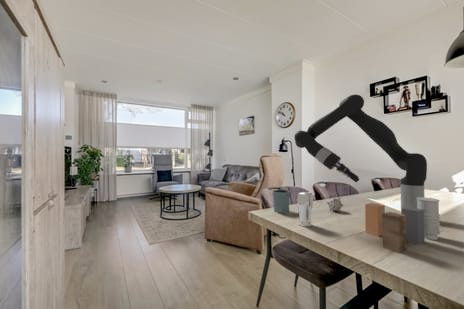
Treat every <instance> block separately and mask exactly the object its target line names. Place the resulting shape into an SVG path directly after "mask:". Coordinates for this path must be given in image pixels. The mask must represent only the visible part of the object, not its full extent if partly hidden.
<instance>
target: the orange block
mask: <svg viewBox="0 0 464 309" xmlns="http://www.w3.org/2000/svg"><path fill="white" fill-rule="evenodd" d="M364 205H365V207H364V208H365V209H364V210H365V213H364V214H365V216H364V217H365V218H364V219H365V220H364V221H365V223H364V225H365V233H366V234H368V235H372V236H375V237H378V238H379V237H381V236H382V213H386V208H385V207H386V205H385V204H380V203H374V202H371V203H370V202H369V203H365V204H364Z"/></svg>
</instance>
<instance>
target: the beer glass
mask: <svg viewBox="0 0 464 309" xmlns="http://www.w3.org/2000/svg"><path fill="white" fill-rule="evenodd" d="M313 198H314V197H313V192H307V191H299V192H297V200H296V202H297V210H298V218H299V219H298V225H299V226H300V227H303V226H304V228H305V227H306V228H309V227H312V226H313V222H312V221H313V220H312V214H313V212H312V211H313V207H314V206H313V205H314V199H313Z"/></svg>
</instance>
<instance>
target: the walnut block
mask: <svg viewBox="0 0 464 309" xmlns="http://www.w3.org/2000/svg"><path fill="white" fill-rule="evenodd" d="M381 238H382V244H381V245H382V248H384V249H386V250H389V251H392V252H396V253H399V254H400V253H402V252H404V251H406V250H407V241H406V215H403V214H401V213H398V212H393V211H387V212H386V211H385V213H382V237H381Z"/></svg>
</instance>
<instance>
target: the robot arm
mask: <svg viewBox="0 0 464 309" xmlns="http://www.w3.org/2000/svg"><path fill="white" fill-rule="evenodd" d="M364 105H365V99H364V98H363V96H361V95H359V94H352V95H348V96H347V97H345V98H343V99H342V100H341V101H340V102H339V105H338V107H336V108H335V109H333V110H332V111H331V112H329V113H327V114H326V115H324V116H321V117H320V118H318V120H316V121H314V122H313V123H312V124H310V125H309V126H308V128H307V130H306V131H305V130H298V131H296V132H295V133H294V142H295V145H296V146H297V148H301V149H304V148H305V149H306V151H307V153H308V154H309V155H311V156H312V157H314V159H316V160H317V161H318V162H319V163H320V164H322V165H323V166H324V167H326V168H327V169H328V170H333V169H335V168H336V171H337V172H338V173H340V174H342V175H343V176H346V178H349V179H350V180H352V181H353V182H355V183H358V181H360V178H359V175H357V174H355V173H354V172H352V170H351V169H350V168H349V167H348V166H346V165H345V164H344V163H343V162H342V163H341V159H342V158H341V157H340V156H339V155H337V153H335V152H333V151H332V150H330V149H328V148H327V147H325V146H324V145H322V144H321V143H320V142H318V141H317V140H316V139H317V138H318V137H319V136H321V135H322V134H323V133H325V132H326V131H328V130H329V129H331V128H332V127H333V126H334V125H336V124H337V123H339V122H340V121H342V120H343V119H345V118H348V119H349V120H351V121H352V122H353V123H355V125H357V127H359V128H360V129H361V130H362V131H363V132H364V133H365V134H366V135H367V136H368V137H369V138H370V139H371V140H372V141H373V142H374V143H375V144H376V145H378V147H380V149H381V150H382V151H383V152H385V153H386V154H387V155H388V157H389V158H390V159H391V160H392V161H393V162H394V164H396V166H397V167H398V168H399V169H400V170H403V171H404V172H405V176H404V177H402V178H401V179H400V214H402V208H406V207H412V208H417V199H416V198H418V197H423V198H425V182H426V179H427V172H428V162H427V158H426V157H425V156H424V155H423V154H421V153H413V152H412V153H411V152H410V153H409V152H407V151H406V150H405V149H404V148H403V147H402V146H401V145H400V144H399V143H398V140H397V137H396V134H395V132H394V131H393V130H392V129H391V128H390V127H389V126H388V125H387V124H385V123H384V122H383V121H381V120H379V119H377V118H375V117H372V116H371V115H368V114H367V113H366V112H365V111H364V110H363V107H364Z"/></svg>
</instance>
